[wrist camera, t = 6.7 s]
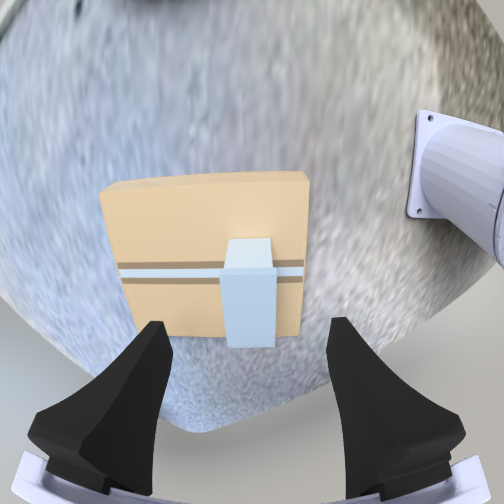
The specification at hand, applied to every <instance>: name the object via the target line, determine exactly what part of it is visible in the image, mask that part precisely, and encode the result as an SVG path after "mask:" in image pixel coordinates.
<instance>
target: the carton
mask: <svg viewBox="0 0 504 504" xmlns="http://www.w3.org/2000/svg"><path fill="white" fill-rule="evenodd" d="M309 186H310V181H309V180H308V178H307V177H306V175H305V174H304V172H303V171H256V172H226V173H207V174H191V175H177V176H165V177H154V178H144V179H135V180H126V181H118V182H114V183H113V184H111V185H110V186H109V187H107V188H106V189H104V190H103V191H101V192H100V193H99V197H100V202H101V207H102V211H103V216H104V220H105V224H106V229H107V233H108V237H109V241H110V245H111V248H112V252H113V256H114V259H115V263H116V266H117V270H118V273H119V277H120V280H121V283H122V286H123V290H124V293H125V296H126V299H127V302H128V305H129V308H130V311H131V314H132V316H133V319H134V322H135V325H136V327H137V330H138V333H140V332H141V331H142V329H143V328H144V327H145V326H146V325H147V324H148V323H149V322H150V321H163V322H164V325H165V329H166V332H167V335H168V336H188V337H226V331H225V323H224V315H223V306H222V298H221V289H220V280H219V272H220V268H224V264H225V258H226V253H227V247H228V242H229V239H254V238H270V241H271V252H272V263H273V267H276V271H277V291H276V330H275V337H283V336H299V330H300V320H301V310H302V299H303V287H304V275H305V261H306V246H307V230H308V210H309Z"/></svg>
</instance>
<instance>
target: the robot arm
mask: <svg viewBox="0 0 504 504" xmlns="http://www.w3.org/2000/svg"><path fill="white" fill-rule="evenodd" d="M429 115H430V117H431V119H430V121H428V116H429ZM418 209H420V211H419V212H418V213H417V210H418ZM407 214H408V215H409V216H410V217H412V218H439V219H448V220H449V221H451V222H452V223H453V224H454V225H455V226H457V227H458V228H459V229H460V230H462V231H463V232H464V233H465V234H466V235H467V236H469V237H470V238H471V239H472V240H473V241H474V242H476V243H477V244H478V245H479V246H480V247H481V248H482V249H483V250H485V251H486V252H487V253H488V254H489V255H490V256H491V257H492V258H493V259H494V260H495V261H496V262H497V263H499V265H501V266H502V268H503V269H504V134H503V133H502V132H501V131H498V130H495V129H492V128H489V127H486V126H483V125H479V124H476V123H473V122H469V121H466V120H462V119H459V118H455V117H451V116H447V115H443V114H439V113H435V112H430V111H426V110H420V111H418V113H417V120H416V137H415V149H414V160H413V169H412V177H411V185H410V192H409V199H408V205H407ZM326 353H327V361H328V368H329V373H330V377H331V381H332V385H333V389H334V392H335V396H336V400H337V404H338V408H339V412H340V417H341V424H342V432H343V441H344V453H345V469H346V500H342V501H336V502H330V503H323V504H483V503H485V502H486V501H488V500H489V499H490V498H491V496H490V493H489V489H488V486H487V482H486V479H485V476H484V472H483V469H482V466H481V463H480V460H479V457H478V454H474V455H472V456H470V457H468V458H466V459H464V460H461V461H460V462H457V463H455V464H453V465H451V466H450V464H449V461H450V460H451V454H450V451H451V450H452V449H453V448H455V447H456V446H457V445H458V444H459V443H460V442H461V441H462V440H463V439H464V437H465V435H466V432H465V430H464V427H463V424H462V422H461V420H460V418H459V416H458V415H457V414H455V413H453V412H451V411H449V410H447V409H445V408H443V407H441V406H439V405H437V404H435V403H434V402H432V401H431V400H429V399H427V398H426V397H424V396H423V395H421V394H420V393H419V392H417V391H416V390H414V389H413V388H412V387H410V386H409V385H408V384H406V383H405V382H404V381H403V380H402V379H400V378H399V377H398V376H397V375H396V374H395V373H394V372H393V371H392V370H391V369H390V368H388V367H387V365H386V364H385V363H384V362H383V361H382V360H381V359H380V358H379V357H378V356H377V355H376V354H375V352H374V351H373V350H372V349H371V348H370V347H369V345H368V344H367V343H366V342H365V341H364V339H363V338H362V337H361V336H360V334H359V333H358V332H357V330H356V329H355V328H354V327H353V325H352V324H351V323H350V321H349V320H348V319H347V318H346V317H337V318H332V320H331V326H330V332H329V337H328V343H327V348H326ZM172 358H173V350H172V347H171V344H170V341H169V338H168V335H167V332H166V329H165V325H164V322H163V321H150V322H149V323H148V324H147V325H146V326H145V327H144V328H143V329H142V331H141V332H140V333H139V334H138V335H137V336H136V337H135V339H134V340H133V341H132V342H131V343H130V344H129V345H128V346H127V348H126V349H125V350H124V351H123V352H122V353H121V354H120V355H119V356H118V357H117V358H116V359H115V360H114V361H113V362H112V363H111V364H110V365H109V366H108V367H107V368H106V369H105V370H104V371H103V372H102V373H101V374H99V375H98V376H97V377H96V378H95V379H93V380H92V381H91V382H90V383H88V384H87V385H85V386H84V387H83V388H81V389H80V390H78V391H77V392H76V393H74V394H73V395H71V396H69V397H68V398H66V399H64V400H63V401H61V402H59V403H57V404H55V405H53V406H51V407H49V408H47V409H45V410H42V411H40V412H38V413H37V414H36V416H35V418H34V421H33V423H32V425H31V427H30V429H29V432H28V438H29V439H30V440H31V441H32V442H33V443H34V444H35V445H36V446H37V447H38V448H40V449H41V450H42V451H43V452H45V453H46V454H47V455H49V456H50V458H49V460H48V461H47V460H45V459H44V458H42V457H40V456H38V455H35V454H33V453H31V452H29V451H27V450H25V452H24V454H23V457H22V459H21V462H20V465H19V468H18V470H17V473H16V477H15V479H14V482H13V485H12V488H11V490H12V492H14V493H15V494H17V495H18V496H20V497H22V498H23V499H25V500H27V501H28V502H30V503H31V504H188V503H180V502H174V501H168V500H163V499H157V498H152V497H148V496H150V495H151V494H152V467H153V451H154V440H155V433H156V425H157V419H158V415H159V411H160V407H161V404H162V400H163V396H164V393H165V389H166V386H167V382H168V379H169V375H170V371H171V365H172Z"/></svg>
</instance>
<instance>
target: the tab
mask: <svg viewBox="0 0 504 504" xmlns="http://www.w3.org/2000/svg"><path fill="white" fill-rule="evenodd" d="M219 280H220V289H221V298H222V306H223V315H224V323H225V331H226V339H227V346H228V348H256V347H275V330H276V291H277V271H276V267H273V263H272V252H271V241H270V238H254V239H229V242H228V247H227V253H226V258H225V264H224V268H220V272H219Z"/></svg>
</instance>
